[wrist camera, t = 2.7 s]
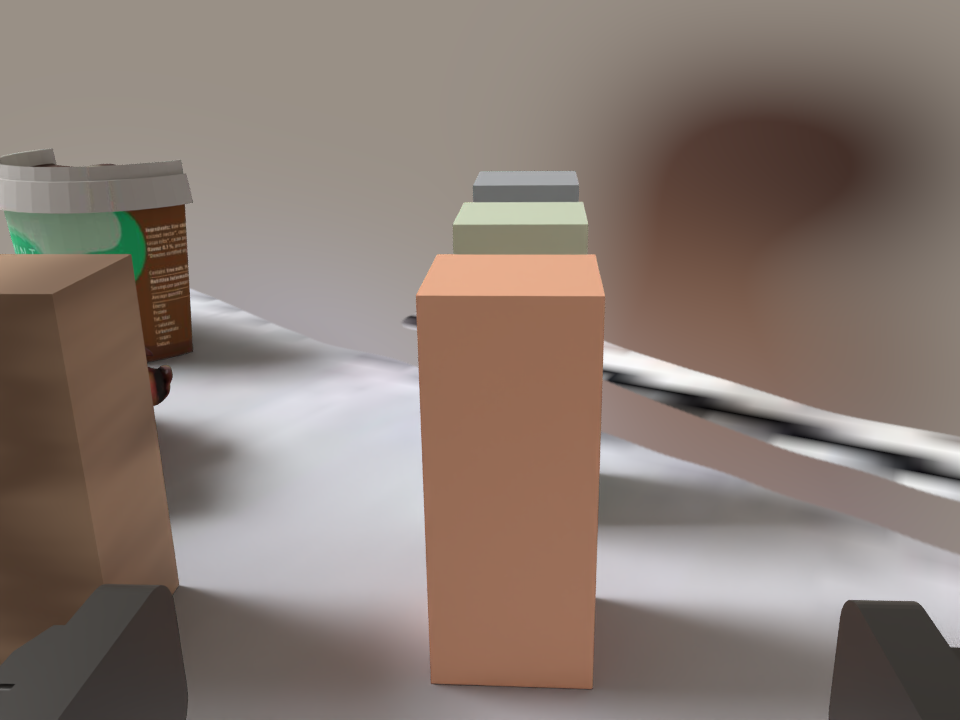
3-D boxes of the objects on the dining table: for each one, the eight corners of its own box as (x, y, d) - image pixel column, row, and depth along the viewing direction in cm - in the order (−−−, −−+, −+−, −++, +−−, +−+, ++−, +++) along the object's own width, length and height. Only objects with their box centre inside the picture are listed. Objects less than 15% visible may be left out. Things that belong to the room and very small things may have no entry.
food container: (-29, 347, 49) (-69, 159, 46) (75, 319, 54) (46, 147, 50) (105, 392, 42) (70, 175, 39) (211, 356, 47) (188, 160, 44)
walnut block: (-31, 667, 23) (-122, 293, 20) (49, 581, 27) (-17, 254, 24) (119, 672, 23) (51, 293, 20) (179, 584, 27) (131, 254, 24)
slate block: (477, 427, 38) (472, 185, 34) (483, 392, 41) (480, 171, 38) (573, 428, 37) (578, 185, 34) (570, 393, 41) (575, 171, 38)
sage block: (459, 522, 30) (452, 224, 27) (469, 469, 34) (464, 202, 31) (580, 525, 30) (588, 224, 26) (576, 471, 34) (582, 202, 30)
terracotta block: (431, 683, 22) (415, 295, 19) (447, 592, 26) (437, 254, 23) (592, 689, 22) (604, 296, 19) (585, 595, 26) (595, 254, 23)
